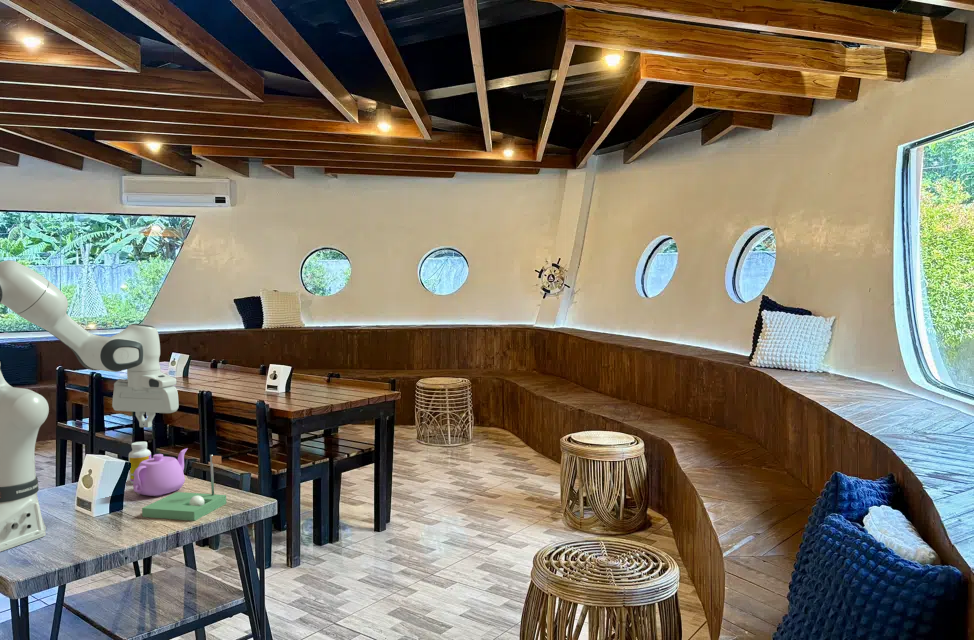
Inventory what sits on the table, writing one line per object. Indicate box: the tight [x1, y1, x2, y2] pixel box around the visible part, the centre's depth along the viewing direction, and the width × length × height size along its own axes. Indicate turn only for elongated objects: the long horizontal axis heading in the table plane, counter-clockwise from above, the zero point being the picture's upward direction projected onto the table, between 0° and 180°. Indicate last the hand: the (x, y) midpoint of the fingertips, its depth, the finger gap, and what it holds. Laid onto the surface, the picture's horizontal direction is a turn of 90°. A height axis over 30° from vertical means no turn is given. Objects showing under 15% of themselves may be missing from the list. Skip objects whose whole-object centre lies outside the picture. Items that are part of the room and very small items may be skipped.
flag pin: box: [209, 454, 222, 496], centre depth 214 cm, size 1×4×12 cm, turn 77°
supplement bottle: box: [128, 441, 152, 485], centre depth 238 cm, size 7×7×13 cm
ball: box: [189, 496, 205, 506], centre depth 209 cm, size 4×4×4 cm
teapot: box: [132, 447, 189, 497], centre depth 228 cm, size 20×13×12 cm, turn 154°
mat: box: [141, 491, 227, 522], centre depth 210 cm, size 15×17×2 cm
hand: (145, 427), depth 213 cm, fingers closed
